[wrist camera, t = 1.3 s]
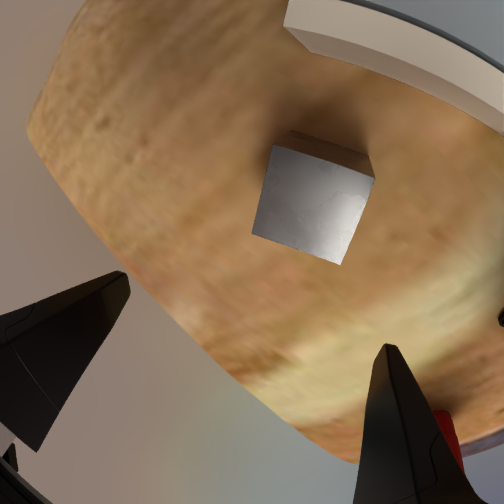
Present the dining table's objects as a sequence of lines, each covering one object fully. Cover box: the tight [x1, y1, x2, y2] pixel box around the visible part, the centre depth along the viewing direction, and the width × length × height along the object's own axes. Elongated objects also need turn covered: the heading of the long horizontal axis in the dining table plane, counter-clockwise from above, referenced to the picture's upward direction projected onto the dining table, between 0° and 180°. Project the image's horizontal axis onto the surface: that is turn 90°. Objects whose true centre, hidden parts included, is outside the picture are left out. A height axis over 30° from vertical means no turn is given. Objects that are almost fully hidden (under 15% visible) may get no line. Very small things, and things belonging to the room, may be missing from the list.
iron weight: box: [252, 131, 375, 264], centre depth 17 cm, size 5×5×5 cm
